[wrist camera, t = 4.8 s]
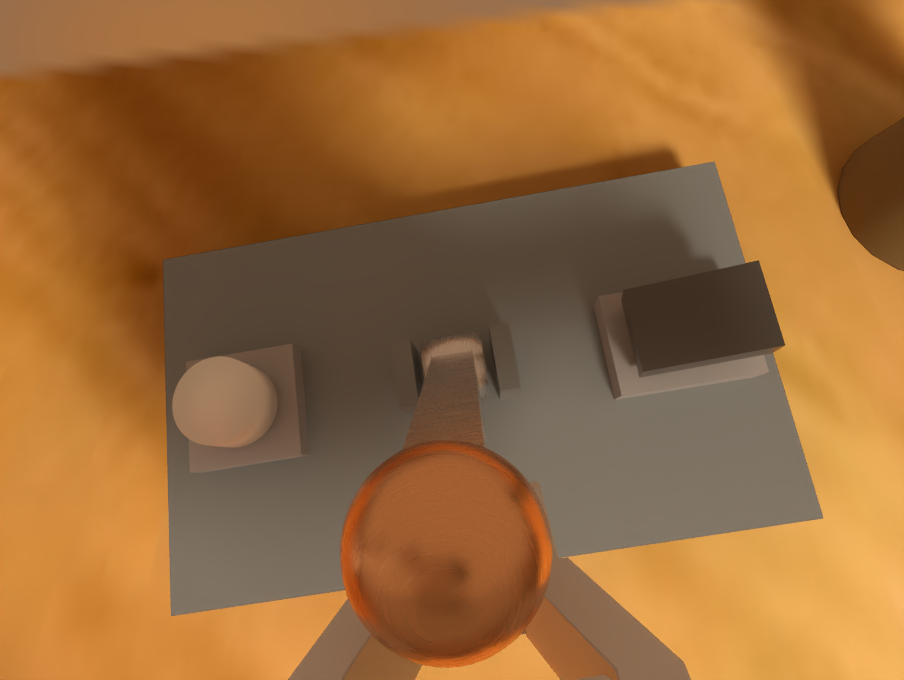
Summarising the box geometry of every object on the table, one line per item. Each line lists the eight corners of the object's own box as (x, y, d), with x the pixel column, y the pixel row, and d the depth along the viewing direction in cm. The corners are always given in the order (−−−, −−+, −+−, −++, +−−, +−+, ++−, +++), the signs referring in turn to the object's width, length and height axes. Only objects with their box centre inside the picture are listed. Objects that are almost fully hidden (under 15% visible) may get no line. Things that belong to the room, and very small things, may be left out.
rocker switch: (639, 377, 16) (642, 371, 15) (621, 301, 17) (623, 289, 15) (770, 353, 15) (785, 345, 14) (746, 274, 16) (758, 260, 15)
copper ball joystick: (426, 403, 18) (342, 742, 5) (413, 332, 17) (290, 511, 5) (498, 391, 18) (588, 709, 5) (486, 320, 17) (551, 471, 5)
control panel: (204, 601, 19) (128, 635, 15) (192, 278, 22) (126, 236, 18) (788, 513, 18) (867, 524, 14) (694, 190, 21) (739, 126, 17)
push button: (199, 453, 17) (173, 452, 15) (196, 372, 17) (171, 364, 16) (280, 440, 17) (261, 438, 15) (274, 359, 17) (256, 349, 16)
